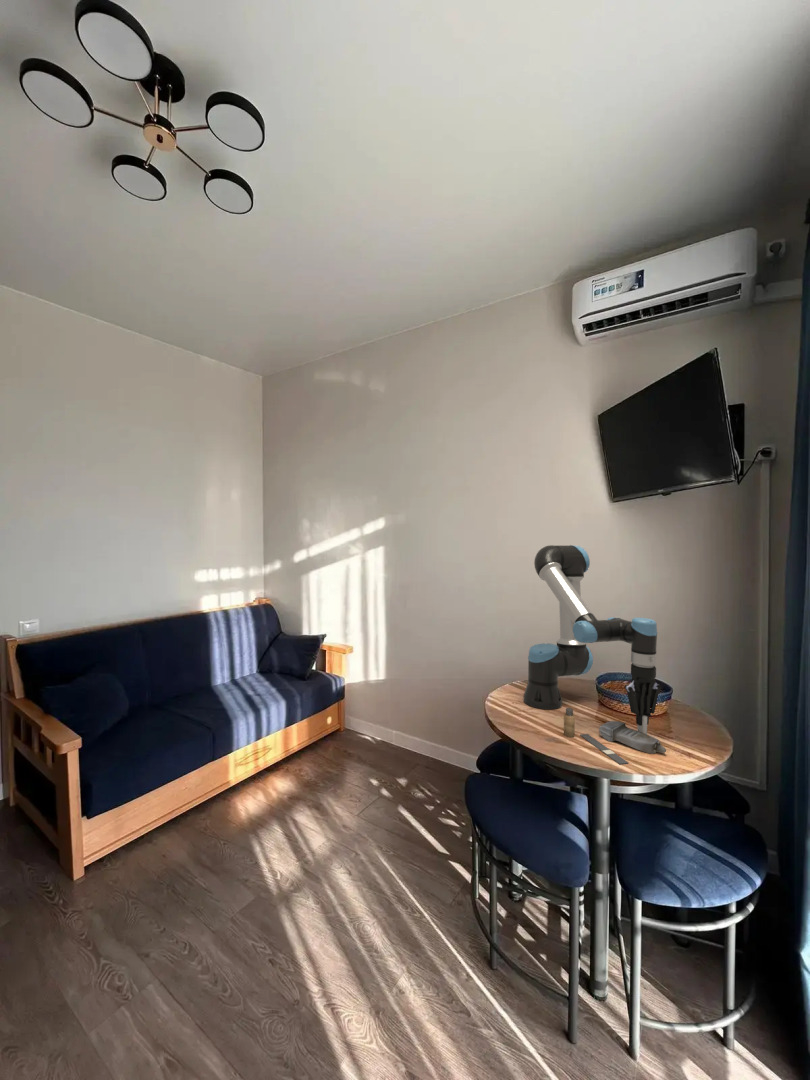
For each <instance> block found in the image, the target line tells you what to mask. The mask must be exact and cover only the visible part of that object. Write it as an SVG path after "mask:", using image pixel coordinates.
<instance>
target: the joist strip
mask: <svg viewBox="0 0 810 1080" xmlns="http://www.w3.org/2000/svg"><path fill="white" fill-rule="evenodd" d="M579 737H582V739H584V740H585V741H587V742H588V743H590V744H591V745H592V746H594V747H595V748H597V750H599V751H600V752H602V753H603V754H605V755H606V756H607V757H609V758H610V759H611V760H613V761H614V762H615V763H617V764H618V765H628V764H629V762H628V761H627V760H625V759H624V758H623V757H621V756H619V755H618V754H617V753H616V752H614V751H613V750H612V749H610V748H608V747H607V746H606V745H604V744H603V743H602V742H600V741H598V740H597V739H596V738H594V737H593V736H592V735H590V734H588V733H583V734H579Z"/></svg>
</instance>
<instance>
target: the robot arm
mask: <svg viewBox="0 0 810 1080" xmlns="http://www.w3.org/2000/svg"><path fill="white" fill-rule="evenodd" d="M590 562H591V561H590V556H589V553H588V552H587V551H586V550H585V548H584V547H582V546H580V545H571V544H570V545H554V544H553V545H552V544H549V545H546V546H543V547H542V548H540V549H539V550H538V551H537V553H536V554H535V557H534V563H533V564H534V568H535V572H536V574H537V575H538V576H539V578H540V580H541V581H545V583H546V585H547V586H548V587H549V590H551V592H552V593H553V595H554V596H555V597H556V599H557V601H558V602H559V603H558V605H559V606H558V607H559V633H560V634H559V635H560V636H559V639H557V641H556V644H553V643H536V644H534V645H532V646H530V647H529V650H528V655H527V659H528V666H527V667H528V668H527V669H528V676H527V681H528V682H527V685H526V688H525V690H524V693H523V703H525V704H526V705H527V706H530V707H532V708H535V709H541V710H556V709H560V708H561V707H562V706H563V698H562V695H561V692H560V688H559V685H558V683H559V677H568V676H579V675H586V674H587V673H588V672H589V671H590V670H591V669H592V667H593V662H594V656H593V653H592V651H591V648H589V647H588V646H587V644H593V643H606V642H610V643H611V642H624V643H628V644H631V645H630V648H631V649H630V650H631V652H630V662H631V664H630V674H631V680H630V683H629V684H628V685H627V684H625V685H624V689H625V692H626V693H627V699H628V704H629V709H630V712H631V714H634V715H636V717H635V724H636V725H637V730H636V731H639V732H642V733H644V734H647V735H648V725H649V721H650V718H651V717H652V714H655V712H656V708H657V702H658V696H659V693H660V692H661V689H662V685H660V684H658V683H657V682H656V680H655V679H656V678H657V667H656V665H657V645H658V644H657V639H658V629H657V628H658V626H657V622H656V620H654V619H652V618H649V617H648V618H646V617H633V618H632V620H627V619H623V618H621V617H613V616H612V617H608V618H607V619H599V620H598V619H597V617H596V616H595V615H594V613H593V612H592V611H591V609H590V608H589V607H588V606H587V604H586V603H585V601H584V600H583V599H582V597H581V581H582V580H583V579H584V578H585V573H586V572H587V571H588V570H589V568H590V564H591V563H590Z"/></svg>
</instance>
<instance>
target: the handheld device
mask: <svg viewBox="0 0 810 1080" xmlns="http://www.w3.org/2000/svg"><path fill="white" fill-rule="evenodd" d="M598 731H599V734H600V736H601V737H602V738H603V739H605V740H606V741H607V742H610V743H614V742H615V741H617V742H619V743H622V744H624V745H626V746H628V747H631V748H633V749H636V750H637V751H641V752H644V753H647V754H651V755H653V754H654V755H655V754H656V753H657V752H658V753H661V754H663V753H664V754H665V753H667V749H666V747H664V746H663V745H661V741H660V740H659V739H658V738H655V737H654V736H651V735H649V734H648V733H647V734H644V733H642V732H639V731H637V730H635V729H633V728H629V727H628V726H627V724H626V723H625V722H623V721H618V720H609V721H607V722H605V723H603V724H601V725H600V726H599V727H598Z"/></svg>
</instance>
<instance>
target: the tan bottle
mask: <svg viewBox="0 0 810 1080" xmlns="http://www.w3.org/2000/svg"><path fill="white" fill-rule="evenodd" d="M575 721H576V715H575V714H574V709H573V708H572V707H565V712H564V713H563V736H565V737H567V738H574V737H575V728H576V727H575V726H576V725H575Z"/></svg>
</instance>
